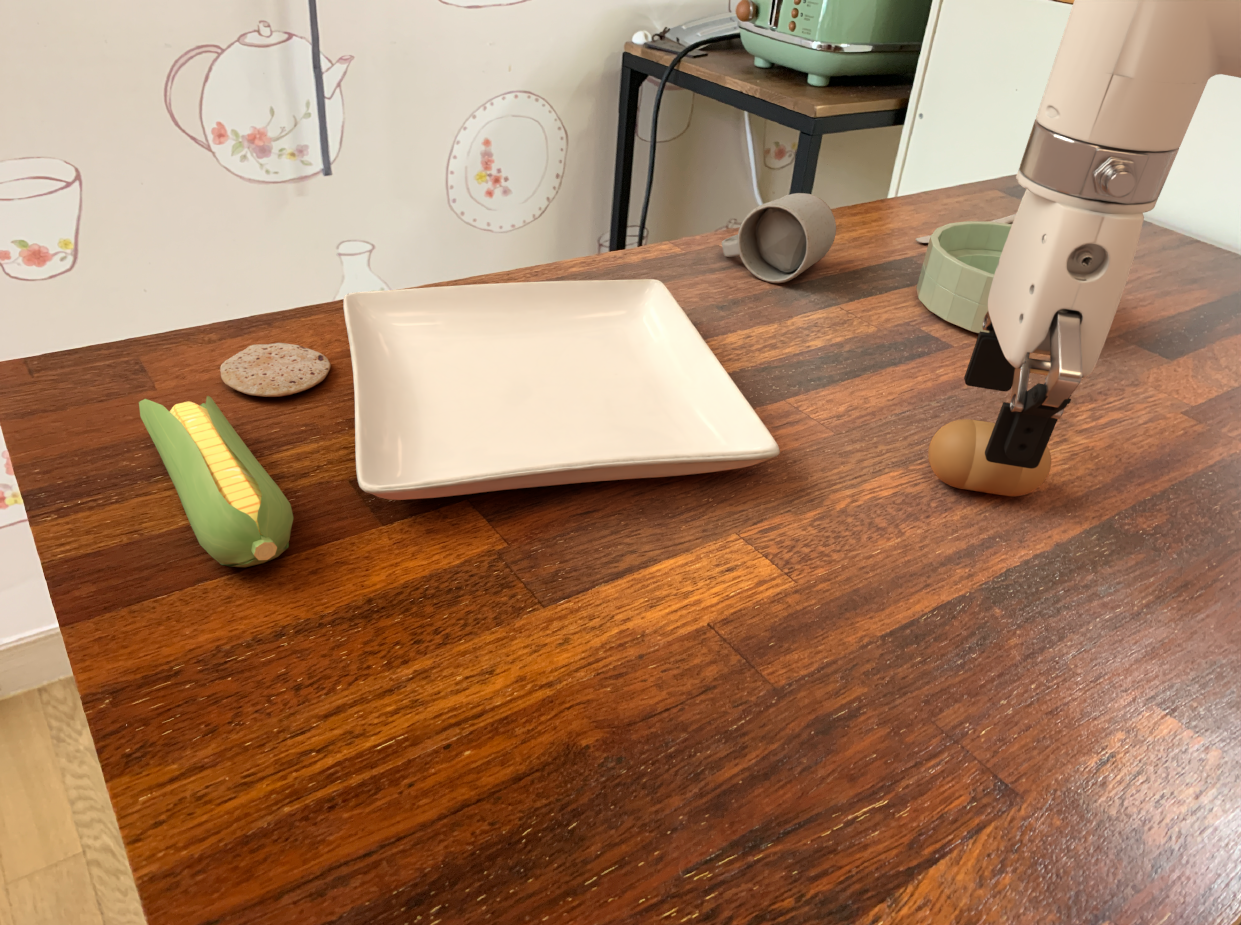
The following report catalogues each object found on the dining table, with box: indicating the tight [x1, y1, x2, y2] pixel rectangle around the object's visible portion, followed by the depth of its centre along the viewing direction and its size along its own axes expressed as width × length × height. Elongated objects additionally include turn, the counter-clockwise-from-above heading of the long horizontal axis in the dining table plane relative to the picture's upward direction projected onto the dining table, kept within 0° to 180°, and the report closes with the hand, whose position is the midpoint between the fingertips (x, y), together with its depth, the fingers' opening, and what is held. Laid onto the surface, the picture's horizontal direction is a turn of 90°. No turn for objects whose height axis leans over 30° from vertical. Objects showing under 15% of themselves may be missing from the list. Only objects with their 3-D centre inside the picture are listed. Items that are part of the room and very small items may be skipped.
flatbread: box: [219, 342, 332, 398], centre depth 70 cm, size 8×8×1 cm
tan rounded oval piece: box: [927, 418, 1052, 497], centre depth 64 cm, size 8×5×5 cm, turn 80°
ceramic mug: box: [721, 192, 837, 284], centre depth 92 cm, size 11×8×8 cm
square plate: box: [342, 278, 781, 501], centre depth 69 cm, size 27×27×4 cm
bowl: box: [915, 220, 1013, 334], centre depth 88 cm, size 15×15×6 cm
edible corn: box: [138, 395, 294, 568], centre depth 57 cm, size 5×20×5 cm, turn 36°
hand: (997, 422), depth 62 cm, fingers open, 9 cm apart
